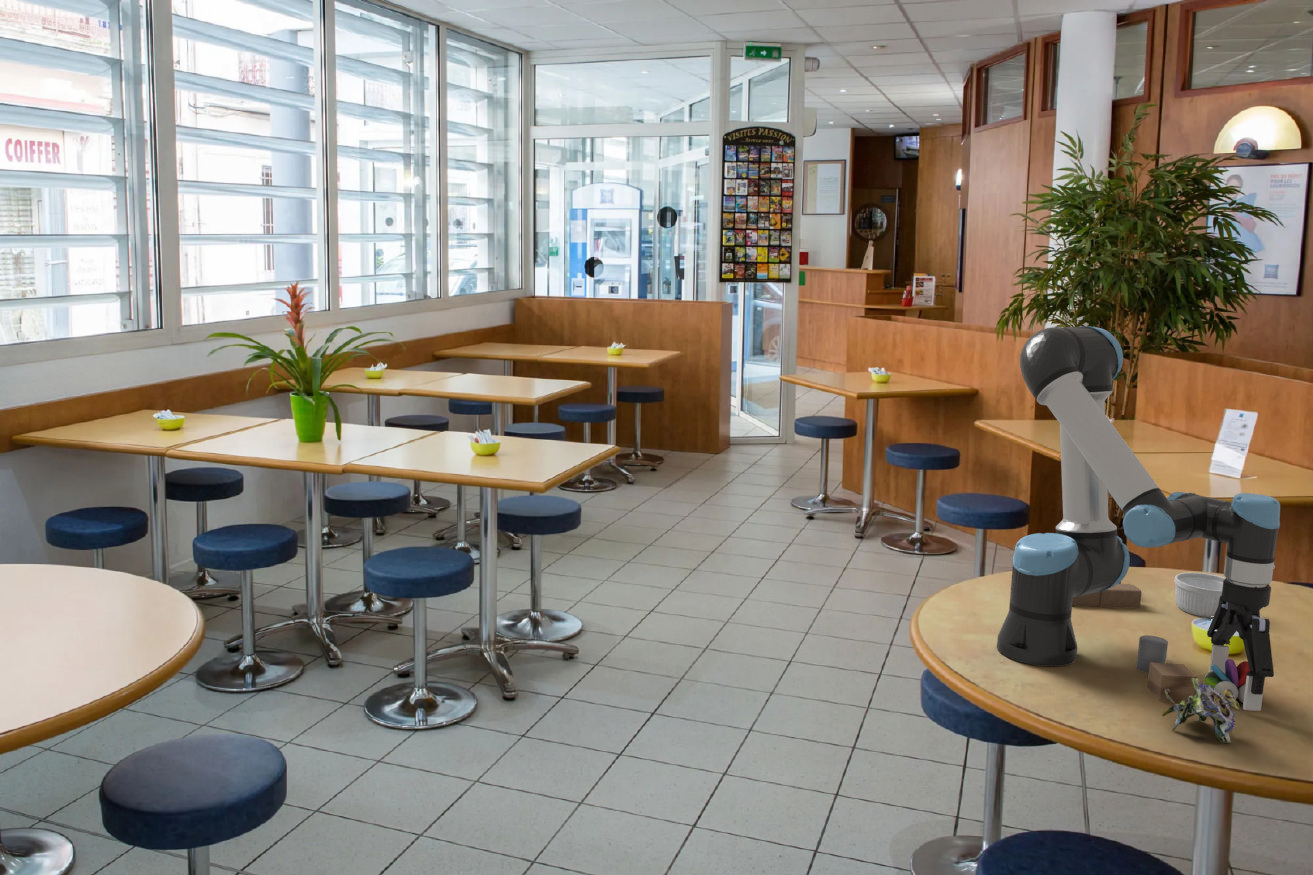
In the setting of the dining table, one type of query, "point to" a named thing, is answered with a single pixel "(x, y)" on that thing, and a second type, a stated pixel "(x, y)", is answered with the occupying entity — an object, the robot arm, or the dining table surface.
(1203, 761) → the dining table surface
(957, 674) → the dining table surface
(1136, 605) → the wooden block set
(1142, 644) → the grey cylinder
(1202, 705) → the passion flower
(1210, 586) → the ramekin
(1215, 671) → the rainbow cloud toy
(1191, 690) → the walnut block
